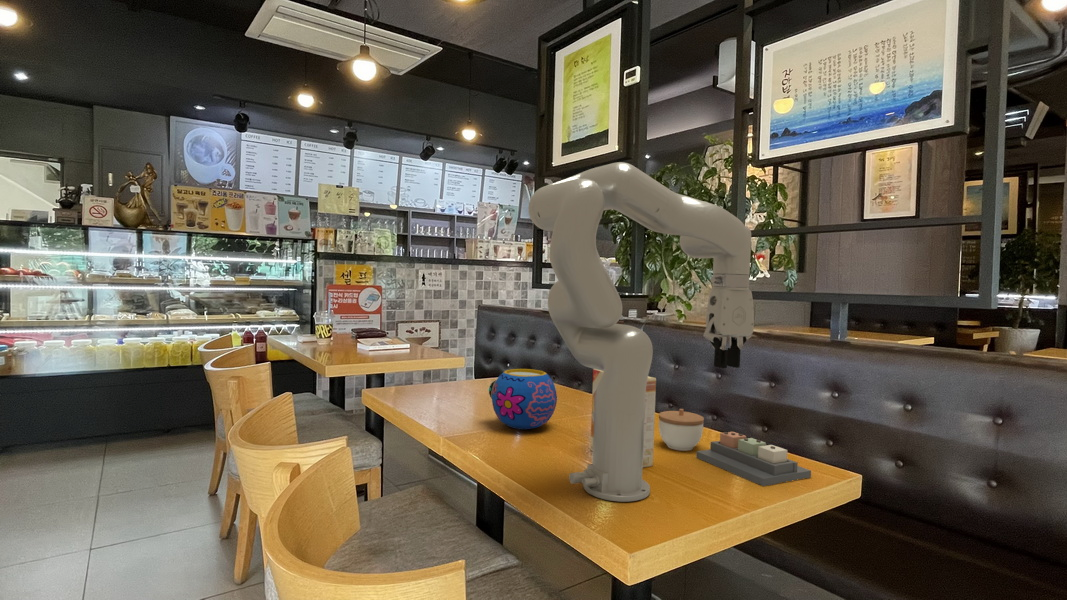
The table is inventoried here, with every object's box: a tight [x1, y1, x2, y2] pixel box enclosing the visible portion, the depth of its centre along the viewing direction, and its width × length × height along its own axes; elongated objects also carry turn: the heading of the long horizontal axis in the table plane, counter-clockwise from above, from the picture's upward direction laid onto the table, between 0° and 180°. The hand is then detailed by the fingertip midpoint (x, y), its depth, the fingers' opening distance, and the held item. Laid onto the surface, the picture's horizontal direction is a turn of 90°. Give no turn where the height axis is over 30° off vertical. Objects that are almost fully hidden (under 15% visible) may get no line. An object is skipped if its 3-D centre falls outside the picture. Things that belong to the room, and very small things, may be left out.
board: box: [696, 440, 812, 487], centre depth 122 cm, size 14×19×4 cm
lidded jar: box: [658, 408, 705, 452], centre depth 135 cm, size 11×11×9 cm
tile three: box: [719, 431, 747, 448], centre depth 126 cm, size 4×4×3 cm
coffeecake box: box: [589, 368, 657, 468], centre depth 125 cm, size 15×7×20 cm, turn 27°
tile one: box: [758, 444, 788, 464], centre depth 117 cm, size 4×4×3 cm
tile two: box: [738, 437, 767, 456], centre depth 121 cm, size 4×4×3 cm
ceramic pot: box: [488, 368, 558, 430], centre depth 148 cm, size 18×18×15 cm
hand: (726, 366), depth 121 cm, fingers open, 3 cm apart
